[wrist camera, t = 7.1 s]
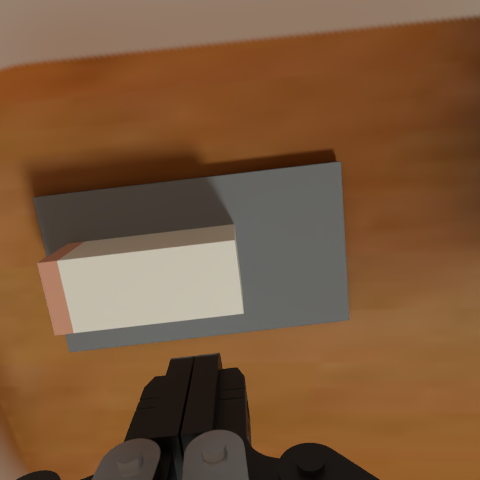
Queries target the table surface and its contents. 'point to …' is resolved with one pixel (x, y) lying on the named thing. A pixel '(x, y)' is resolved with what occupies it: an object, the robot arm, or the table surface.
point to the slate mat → (247, 237)
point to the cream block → (143, 280)
